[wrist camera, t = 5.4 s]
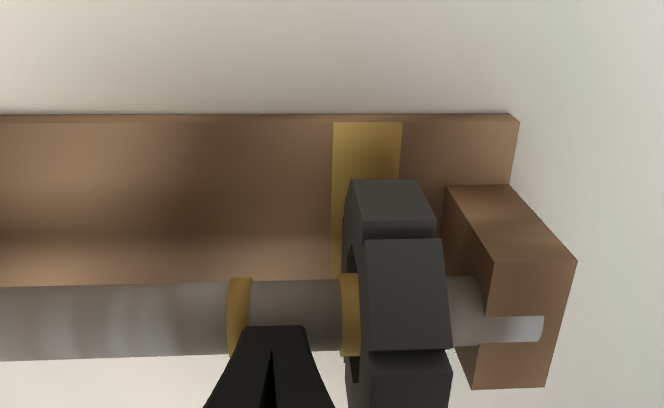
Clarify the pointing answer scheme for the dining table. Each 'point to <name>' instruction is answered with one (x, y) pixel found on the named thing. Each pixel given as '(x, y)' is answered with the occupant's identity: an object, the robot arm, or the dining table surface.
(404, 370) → the dark grey hex nut
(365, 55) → the dining table surface
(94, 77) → the dining table surface
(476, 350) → the pipe stand
